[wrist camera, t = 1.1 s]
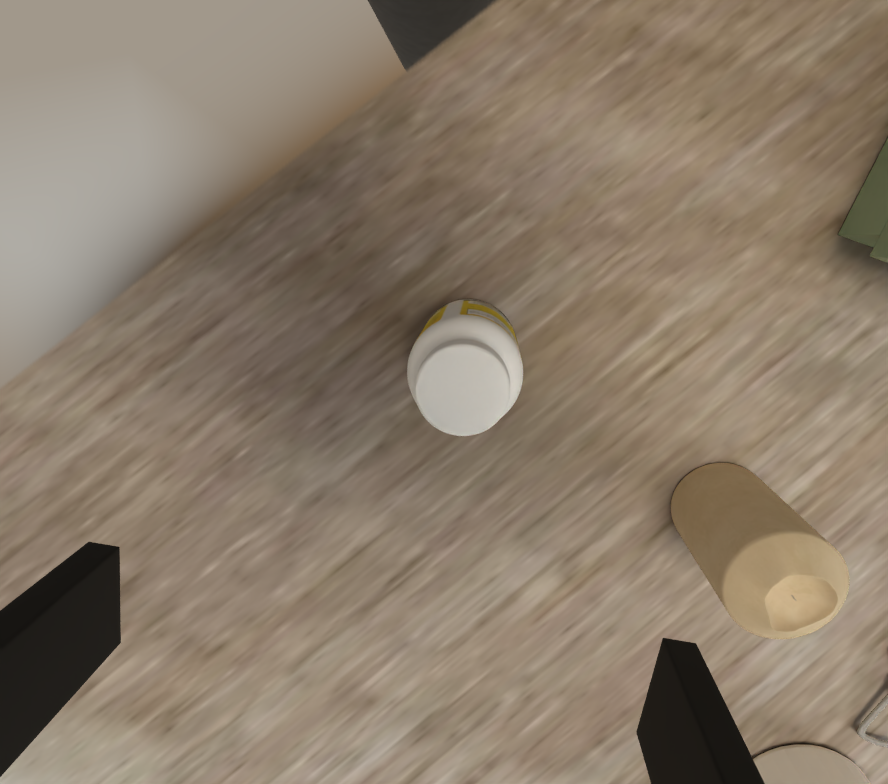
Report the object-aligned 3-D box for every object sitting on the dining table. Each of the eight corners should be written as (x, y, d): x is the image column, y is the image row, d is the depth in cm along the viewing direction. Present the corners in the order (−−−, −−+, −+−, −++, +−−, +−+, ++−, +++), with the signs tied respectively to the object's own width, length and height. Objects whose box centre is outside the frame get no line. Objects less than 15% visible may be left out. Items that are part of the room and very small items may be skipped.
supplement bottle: (433, 399, 35) (412, 462, 26) (412, 309, 34) (381, 339, 24) (525, 381, 34) (538, 439, 25) (507, 288, 33) (513, 312, 24)
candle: (707, 563, 36) (785, 682, 27) (649, 500, 36) (709, 600, 26) (785, 508, 35) (896, 613, 25) (727, 442, 34) (819, 525, 25)
